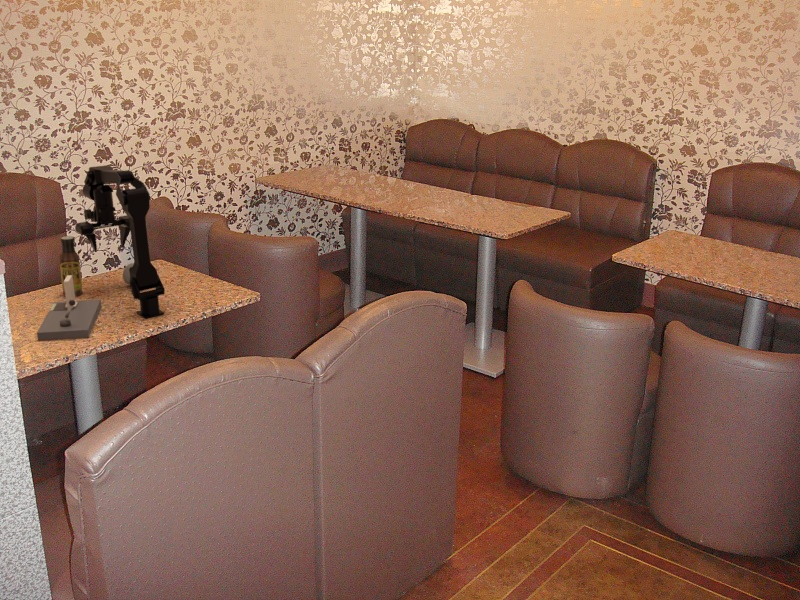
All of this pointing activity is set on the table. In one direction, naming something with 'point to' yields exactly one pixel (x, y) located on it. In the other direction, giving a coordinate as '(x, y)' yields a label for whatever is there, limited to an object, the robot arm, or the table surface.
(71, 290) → the ivory paddle
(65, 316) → the steel toggle lever
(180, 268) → the table surface
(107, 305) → the table surface
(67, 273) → the sauce bottle
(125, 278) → the ceramic mug
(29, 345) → the table surface
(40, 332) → the switch panel
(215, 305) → the table surface
